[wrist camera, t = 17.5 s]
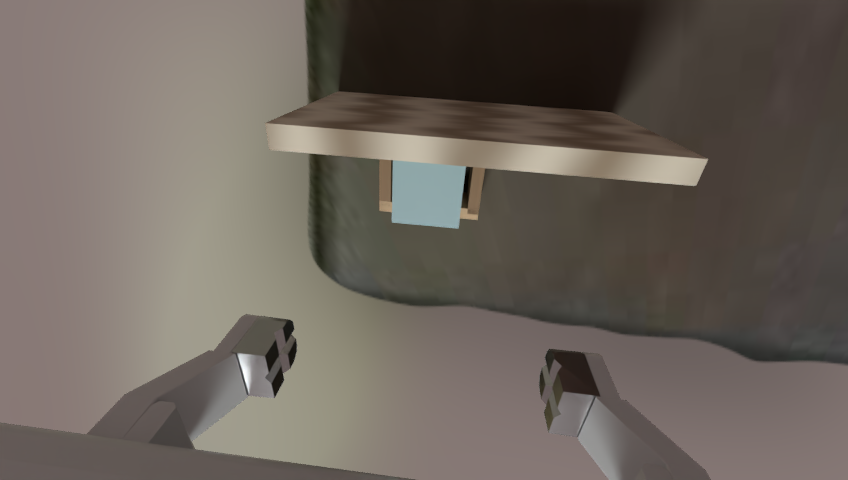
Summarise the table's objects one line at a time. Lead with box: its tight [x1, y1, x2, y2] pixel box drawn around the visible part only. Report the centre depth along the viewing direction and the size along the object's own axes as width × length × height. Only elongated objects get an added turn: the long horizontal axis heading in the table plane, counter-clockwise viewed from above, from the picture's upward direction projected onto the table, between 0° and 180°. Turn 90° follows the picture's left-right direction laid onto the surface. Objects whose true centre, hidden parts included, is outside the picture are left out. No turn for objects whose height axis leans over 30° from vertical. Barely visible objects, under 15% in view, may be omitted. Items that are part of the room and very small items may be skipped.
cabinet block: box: [392, 160, 466, 228], centre depth 30 cm, size 5×6×10 cm
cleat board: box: [266, 91, 708, 220], centre depth 28 cm, size 24×10×14 cm, turn 86°
